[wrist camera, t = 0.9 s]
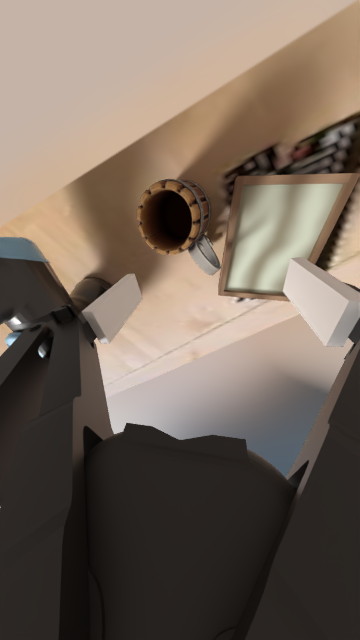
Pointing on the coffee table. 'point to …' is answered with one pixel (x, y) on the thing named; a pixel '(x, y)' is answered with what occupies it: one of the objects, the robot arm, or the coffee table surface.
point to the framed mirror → (278, 229)
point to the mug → (178, 221)
